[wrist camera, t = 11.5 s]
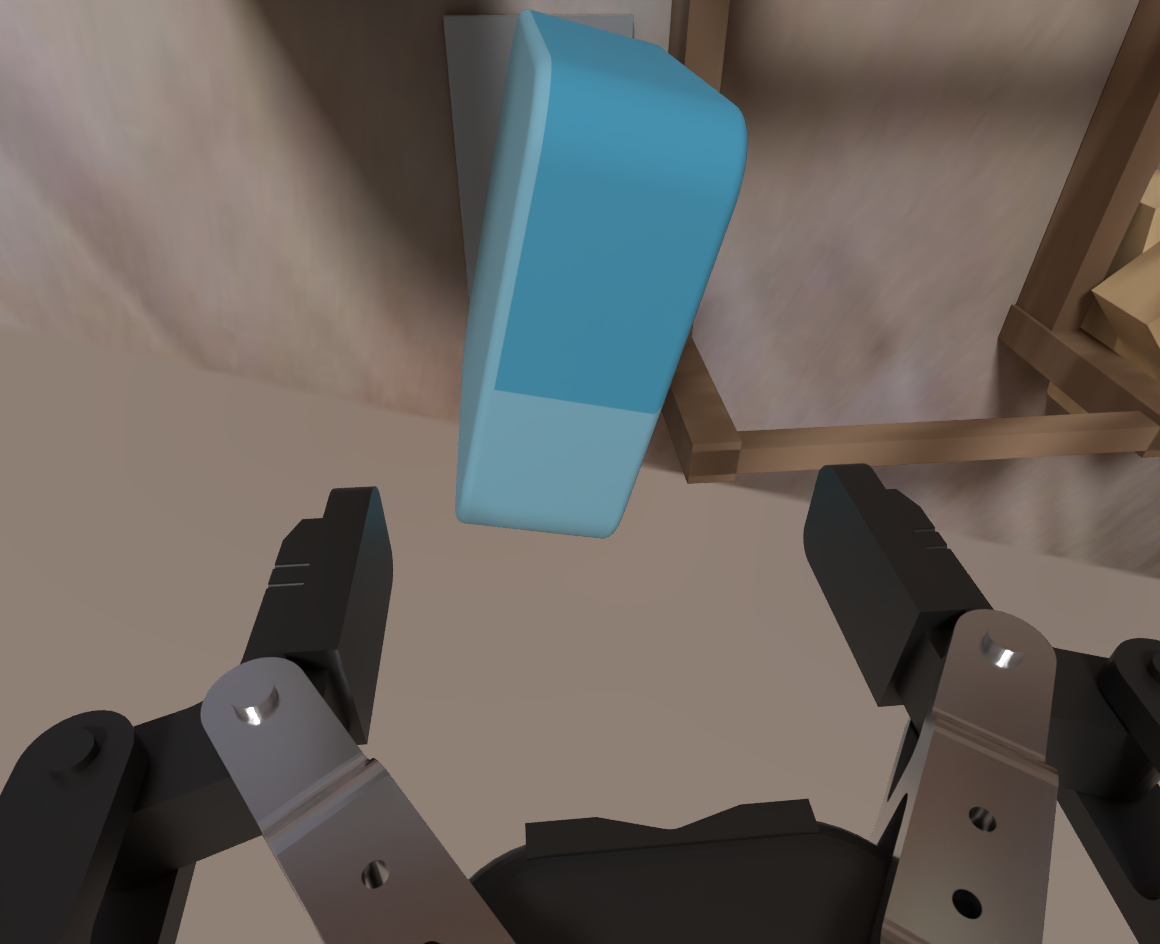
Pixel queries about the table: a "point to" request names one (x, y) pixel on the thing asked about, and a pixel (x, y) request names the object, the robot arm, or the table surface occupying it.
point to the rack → (1032, 328)
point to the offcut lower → (1148, 226)
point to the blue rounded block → (587, 272)
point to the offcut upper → (1136, 308)
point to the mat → (487, 104)
